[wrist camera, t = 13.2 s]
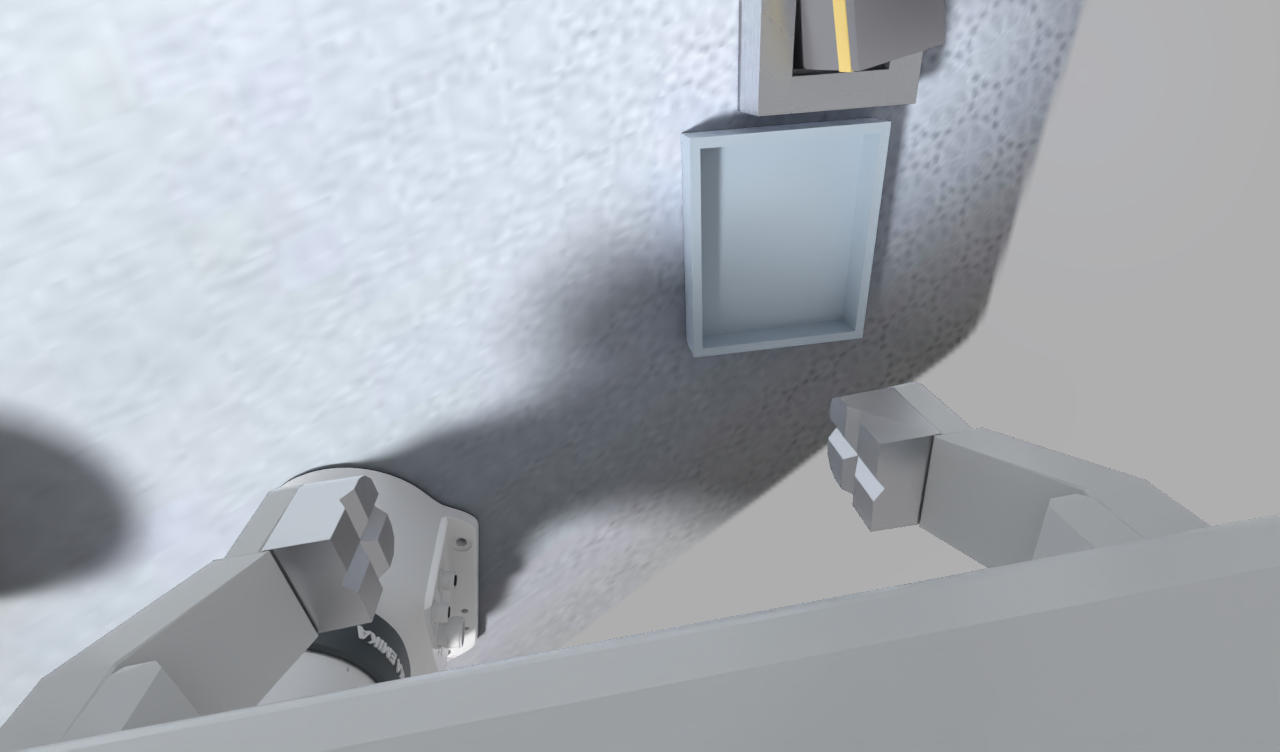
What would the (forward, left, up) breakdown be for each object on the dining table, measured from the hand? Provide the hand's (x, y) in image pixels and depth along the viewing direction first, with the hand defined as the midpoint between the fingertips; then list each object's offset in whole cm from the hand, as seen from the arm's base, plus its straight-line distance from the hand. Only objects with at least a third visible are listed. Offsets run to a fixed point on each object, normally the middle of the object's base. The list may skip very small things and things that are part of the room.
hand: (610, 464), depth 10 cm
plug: (+7, -15, -29) cm, 33 cm away
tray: (-5, -13, -29) cm, 32 cm away
